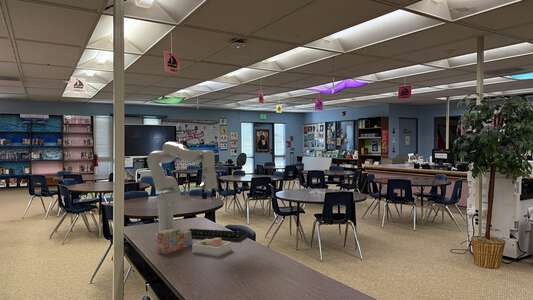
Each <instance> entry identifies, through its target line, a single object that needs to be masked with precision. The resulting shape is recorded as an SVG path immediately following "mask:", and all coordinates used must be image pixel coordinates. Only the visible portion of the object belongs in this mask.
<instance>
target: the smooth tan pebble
mask: <svg viewBox="0 0 533 300" xmlns="http://www.w3.org/2000/svg"><path fill="white" fill-rule="evenodd" d="M221 245H222V239H221V238H213V247H219V246H221Z"/></svg>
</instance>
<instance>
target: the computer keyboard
mask: <svg viewBox="0 0 533 300" xmlns="http://www.w3.org/2000/svg"><path fill="white" fill-rule="evenodd" d="M188 230H189V231H191V236H192V240H205V239H213V238H221V239H222V241H229V242H231V241H233V242H232V243H240V242H241V241H242V239H243V240H244V239H246V238H247V237H248V236H249V233H248V232H246V231H240V230H239V231H238V230H236V231H235V230H220V229H205V228H204V229H203V228H189V229H188ZM239 241H240V242H239Z"/></svg>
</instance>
